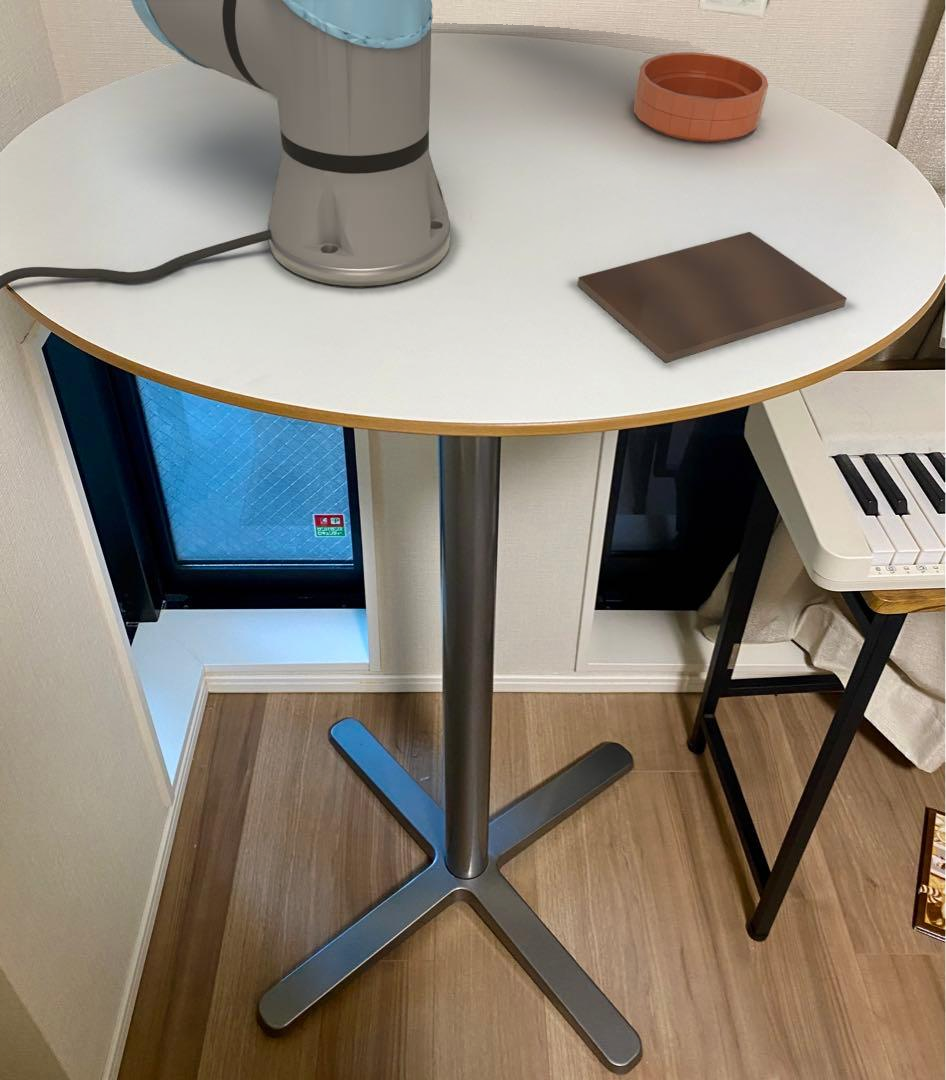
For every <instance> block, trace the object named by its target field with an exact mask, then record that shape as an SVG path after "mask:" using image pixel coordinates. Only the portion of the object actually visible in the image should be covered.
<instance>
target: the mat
mask: <svg viewBox="0 0 946 1080" xmlns="http://www.w3.org/2000/svg"><path fill="white" fill-rule="evenodd" d="M577 287H578V288H580V289H581V290H582V292H584V293H585V294H586V295H588V296H589V297H590V298H592V300H593V301H595V302H596V304H598V305H599V306H600V307H601V308H602V309H604V310H605V311H606V312H607V313H608V314H609V315H610V316H611V317H612V318H614V319H615V320H616V321H617V322H618V323H619V324H620V325H622V326H623V327H624V328H625V329H626V330H627V331H628V332H630V333H631V334H632V335H633V336H634V337H635V338H637V339H638V340H639V341H640V342H641V343H642V344H643V345H645V346H646V348H648V349H649V350H651V351H652V353H654V355H656V356H657V357H658V358H659V359H660V360H661V361H663V362H664V363H669V362H671V361H675V360H679V359H682V358H684V357H688V356H691V355H694V354H697V353H700V352H703V351H708V350H710V349H713V348H716V347H719V346H722V345H726V344H728V343H732V342H735V341H738V340H741V339H745V338H748V337H751V336H754V335H757V334H760V333H765V332H768V331H771V330H773V329H776V328H779V327H782V326H786V325H790V324H792V323H796V322H798V321H799V322H800V321H802V320H806V319H808V318H811V317H814V316H818V315H821V314H824V313H827V312H830V311H833V310H837V309H840V308H843V307H844V306H845V304H846V301H847V296H845V295H843V294H842V293H840V292H839V291H837V290H836V289H835V288H833V287H832V286H831V285H829V284H827V283H826V282H824V281H822V279H820V278H819V277H817V276H816V275H813V273H811V272H809V271H808V270H807V269H805V268H804V267H802V266H801V265H800V264H798V263H797V262H795V261H794V260H792V259H790V258H789V257H788V256H786V255H785V254H783V253H782V252H780V251H779V250H777V249H776V248H775V247H773V246H771V245H770V244H769V243H767V242H766V241H765V240H763V239H762V238H760V237H759V236H757V235H755V234H754V233H753V232H752V231H746V232H743V233H739V234H736V235H732V236H729V237H724V238H720V239H717V240H712V241H710V242H709V241H708V242H705V243H702V244H698V245H694V246H691V247H687V248H683V249H680V250H675V251H672V252H668V253H664V254H661V255H657V256H653V257H648V258H645V259H642V260H638V261H634V262H630V263H627V264H623V265H619V266H616V267H612V268H608V269H603V270H600V271H597V272H593V273H589V274H585V275H582V276H578V279H577Z"/></svg>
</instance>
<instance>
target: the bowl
mask: <svg viewBox="0 0 946 1080" xmlns="http://www.w3.org/2000/svg"><path fill="white" fill-rule="evenodd" d="M636 80H637V81H636V85H635V94H634V99H633V100H634V101H633V113H634V114H635V116H636V117H637V118H638V119H639V120H640V121H641V122H643V123H644V124H646V125H647V126H648V127H650V128H651V129H653V130H654V131H657V132H659V133H661V134H664V135H666V136H670V137H673V138H676V139H680V140H686V141H692V142H693V141H694V142H708V143H709V142H724V141H729V140H733V139H736V138H739V137H743V136H745V135H747V134H749V133H751V132H753V131H755V130H756V128H757V127H758V125H759V123H760V122H761V117H762V113H763V109H764V104H765V101H766V96H767V92H768V87H769V82H768V78H767V76H766V75H765V74H764V73H763V72H762V71H761V70H759V69H758V68H756V67H754V66H752V65H751V64H748V63H747V62H744V61H741V60H738V59H736V58H732V57H727V56H725V55H719V54H713V53H704V52H694V51H692V52H691V51H688V52H687V51H685V52H684V51H683V52H669V53H664V54H658V55H655V56H652V57H650V58H648V59H646V60H644V61H643V63H641V65H639V67H638V74H637V79H636Z"/></svg>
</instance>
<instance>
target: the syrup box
mask: <svg viewBox="0 0 946 1080" xmlns="http://www.w3.org/2000/svg"><path fill="white" fill-rule="evenodd" d="M770 3H771V0H698V9H699V10H701V11H704V12H709V13H714V14H719V15H725V16H733V17H740V18H746V19H747V18H748V19H756V20H757V19H758V20H763V18H764V17H765V14H766V13H767V11H768V8H769V6H770Z"/></svg>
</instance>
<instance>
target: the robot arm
mask: <svg viewBox="0 0 946 1080" xmlns="http://www.w3.org/2000/svg"><path fill="white" fill-rule="evenodd" d="M130 2H131V4H132V7H133V8H134V11H135V13H136V14H137V17H138V18H139V19H140V20H141V22H142V24H143V25H144V27H145V28H146V29H147V31H149V33H150V34H151V35H152V36H153V37H154V38H155V39H156V40H157V41H158V42H160V43H161V44H162V45H163V46H166V48H168V49H170V50H172V51H174V52H175V53H177V54H178V55H180V56H181V57H183V58H184V59H185V60H186V61H188V62H190V63H192V64H194V65H197V66H200V67H203V68H204V69H209V70H213V71H216V72H218V73H221V74H223V75H225V76H228V77H231V78H232V79H235V80H238V81H240V82H243V83H245V84H247V85H249V86H253V87H255V88H257V89H259V90H262V91H265V92H267V93H270V94H272V95H274V96H275V97H276V101H277V110H278V121H279V128H280V130H279V131H280V141H281V150H282V151H281V152H282V153H281V159H280V163H279V167H278V171H277V175H276V176H277V177H276V180H275V186H274V190H273V193H272V194H273V195H272V199H271V202H270V208H269V212H268V218H267V219H268V221H267V229H266V230H263V231H260V232H256V233H252V234H248V235H245V236H242V237H238V238H233V239H231V240H228V241H224V242H221V243H218V244H214V245H211V246H208V247H203V248H201V249H197V250H194V251H192V252H188V253H185V254H181V255H180V256H177V257H174V258H172V259H171V260H168V261H166V262H165V263H164V262H163V264H160V265H158V266H155V267H153V268H150V269H145V270H139V271H121V270H113V269H107V268H71V267H55V266H54V267H53V266H30V267H29V266H27V267H21V268H16V269H12V270H10V271H7V272H5V273H3V274H1V275H0V290H2V289H3V288H4V287H6V286H7V285H9V284H10V283H12V282H15V281H18V280H22V279H28V278H29V279H30V278H58V279H59V278H60V279H61V278H62V279H80V280H81V279H82V280H84V279H85V280H86V279H102V280H110V281H116V282H125V283H139V282H145V281H150V280H153V279H157V278H160V277H162V276H164V275H166V274H169V273H170V272H172V271H174V270H176V269H178V268H180V267H183V266H186V265H188V264H191V263H195V262H199V261H201V260H204V259H207V258H210V257H213V256H217V255H221V254H223V253H224V254H225V253H228V252H230V251H234V250H237V249H241V248H246V247H247V246H251V245H254V244H258V243H262V242H265V241H269V243H268V244H269V247H270V251H271V253H272V255H273V256H274V258H275V259H276V260H277V262H279V264H281V265H282V266H283V267H285V268H286V269H287V270H289V271H291V272H293V273H295V274H296V275H299V276H301V277H303V278H306V279H309V280H312V281H315V282H319V283H323V284H329V285H336V286H343V287H372V286H383V285H389V284H394V283H399V282H402V281H407V280H409V279H412V278H415V277H417V276H419V275H422V274H424V273H425V272H428V271H429V270H431V269H432V268H434V267H436V265H437V264H439V263H440V262H441V261H442V260H443V259H444V257H445V256H446V255H447V253H448V251H449V248H450V242H451V221H450V217H449V211H448V208H447V205H446V202H445V199H444V198H445V197H444V192H443V189H442V185H441V182H440V181H439V178H438V175H437V172H436V169H435V167H434V164H433V161H432V158H431V155H430V109H431V107H430V105H431V63H432V61H431V60H432V58H431V57H432V25H433V24H432V23H433V17H434V16H433V2H432V0H130Z"/></svg>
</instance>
